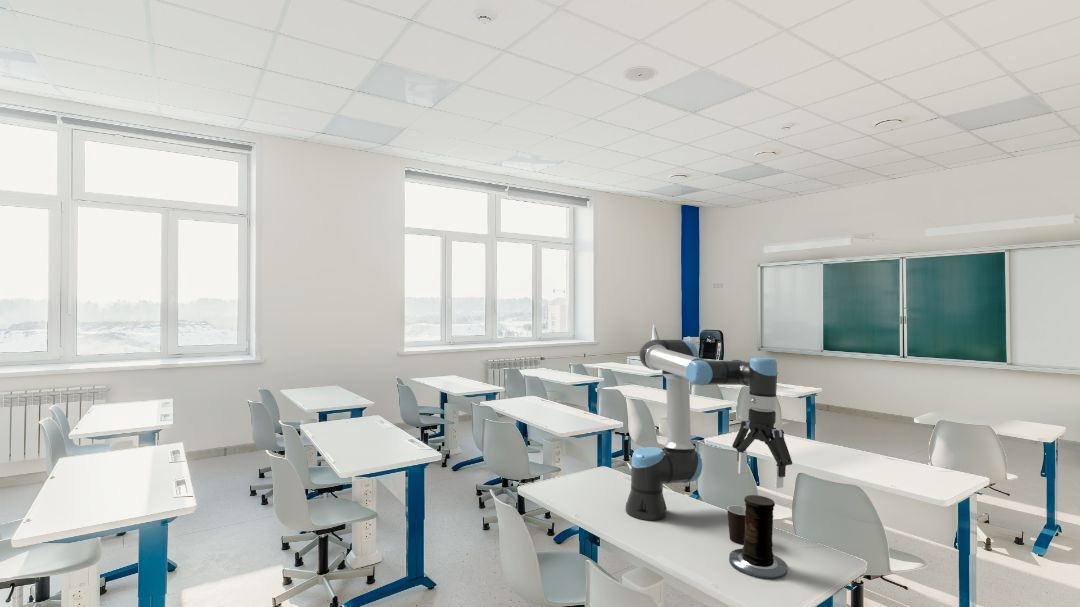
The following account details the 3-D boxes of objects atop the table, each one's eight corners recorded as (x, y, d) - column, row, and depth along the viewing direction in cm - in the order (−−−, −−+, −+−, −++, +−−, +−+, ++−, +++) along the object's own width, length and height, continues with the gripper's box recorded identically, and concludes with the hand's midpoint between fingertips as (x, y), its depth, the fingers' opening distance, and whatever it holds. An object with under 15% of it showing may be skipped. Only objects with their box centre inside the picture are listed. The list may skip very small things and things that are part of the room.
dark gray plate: (717, 558, 160) (717, 552, 160) (756, 550, 167) (756, 544, 167) (759, 583, 146) (759, 577, 146) (799, 573, 152) (799, 567, 152)
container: (751, 550, 163) (752, 492, 163) (779, 561, 156) (781, 501, 156) (735, 558, 157) (737, 497, 157) (764, 570, 150) (766, 507, 150)
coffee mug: (736, 547, 168) (737, 516, 169) (720, 536, 177) (721, 506, 177) (767, 544, 172) (768, 513, 172) (750, 533, 180) (751, 504, 180)
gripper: (722, 402, 167) (719, 468, 167) (788, 418, 144) (786, 495, 144) (739, 401, 170) (737, 466, 170) (807, 417, 147) (804, 492, 147)
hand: (759, 480), depth 157 cm, fingers open, 13 cm apart
